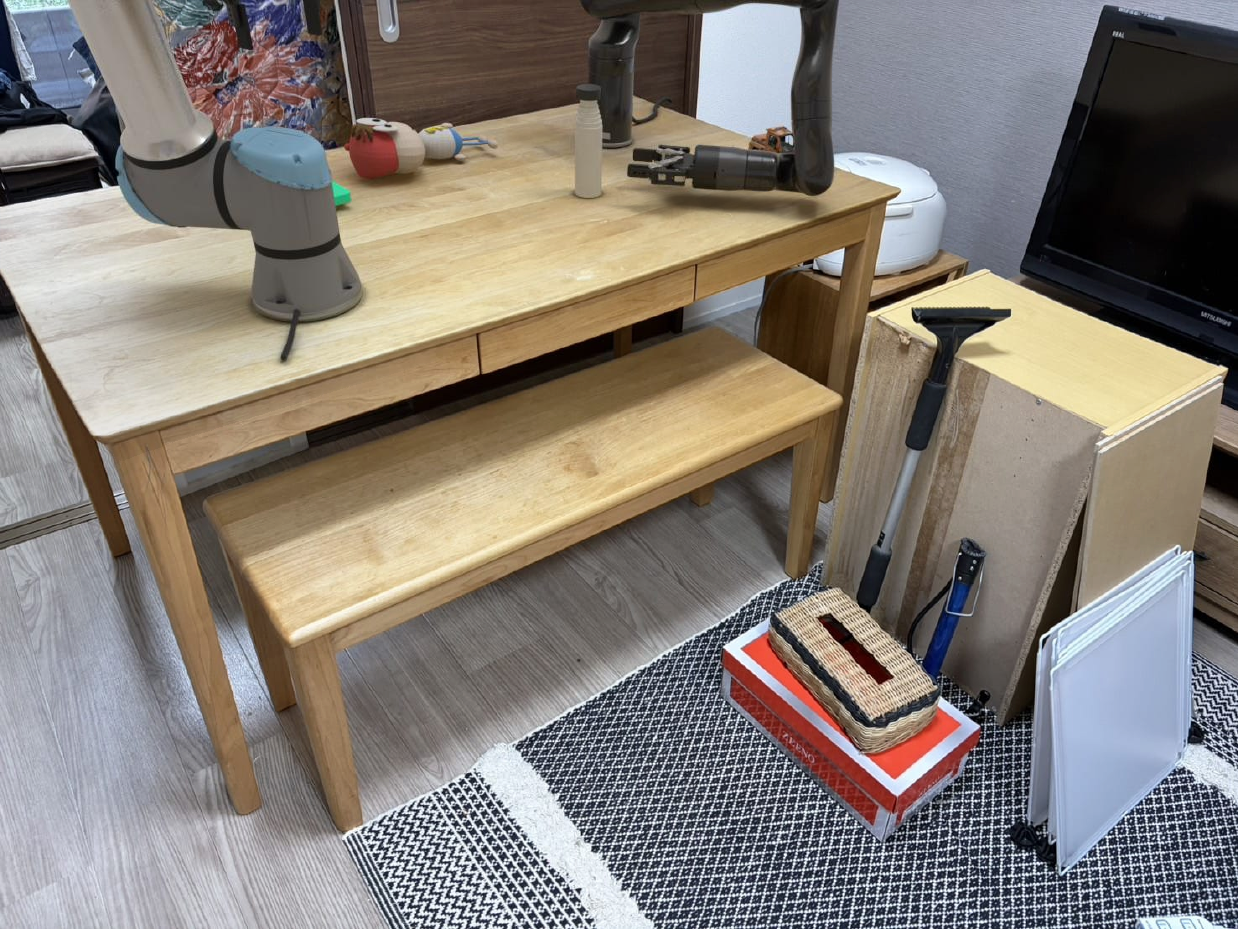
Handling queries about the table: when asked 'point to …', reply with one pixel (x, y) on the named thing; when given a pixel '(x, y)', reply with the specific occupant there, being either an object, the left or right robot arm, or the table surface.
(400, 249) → the table surface
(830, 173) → the right robot arm
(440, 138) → the toy
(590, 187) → the bottle
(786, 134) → the toy car
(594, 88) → the cap
